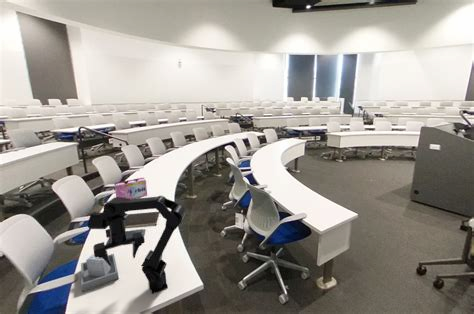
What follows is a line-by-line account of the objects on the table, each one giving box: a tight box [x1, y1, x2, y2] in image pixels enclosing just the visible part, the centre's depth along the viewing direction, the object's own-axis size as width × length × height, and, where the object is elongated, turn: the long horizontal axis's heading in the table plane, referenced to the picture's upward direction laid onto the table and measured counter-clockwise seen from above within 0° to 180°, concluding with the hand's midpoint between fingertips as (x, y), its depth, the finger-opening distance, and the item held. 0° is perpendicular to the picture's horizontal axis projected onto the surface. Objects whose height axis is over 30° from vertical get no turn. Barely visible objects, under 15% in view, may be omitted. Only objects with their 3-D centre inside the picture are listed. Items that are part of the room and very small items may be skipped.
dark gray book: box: [105, 228, 146, 246], centre depth 143 cm, size 20×2×15 cm
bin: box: [80, 253, 119, 292], centre depth 113 cm, size 14×16×4 cm
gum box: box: [113, 177, 148, 199], centre depth 200 cm, size 24×8×14 cm, turn 126°
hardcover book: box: [124, 211, 161, 228], centre depth 163 cm, size 16×23×2 cm
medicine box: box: [85, 253, 111, 276], centre depth 112 cm, size 8×4×9 cm, turn 87°
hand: (122, 261), depth 104 cm, fingers open, 9 cm apart
